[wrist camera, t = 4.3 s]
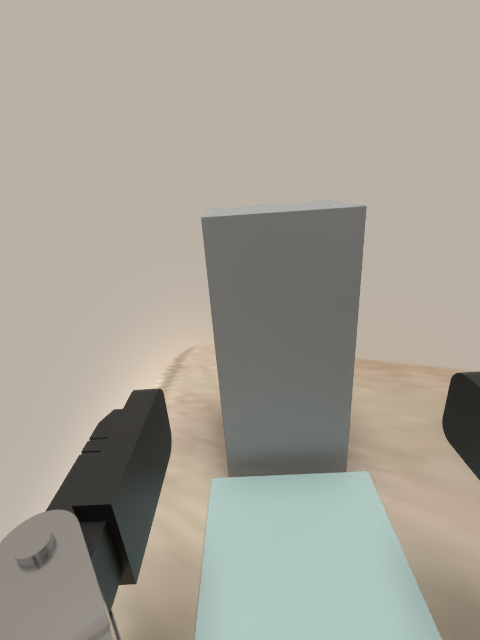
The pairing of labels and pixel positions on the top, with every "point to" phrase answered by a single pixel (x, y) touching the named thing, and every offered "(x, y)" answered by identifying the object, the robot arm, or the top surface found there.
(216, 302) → the cover
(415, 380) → the top surface
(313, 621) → the slab
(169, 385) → the top surface
